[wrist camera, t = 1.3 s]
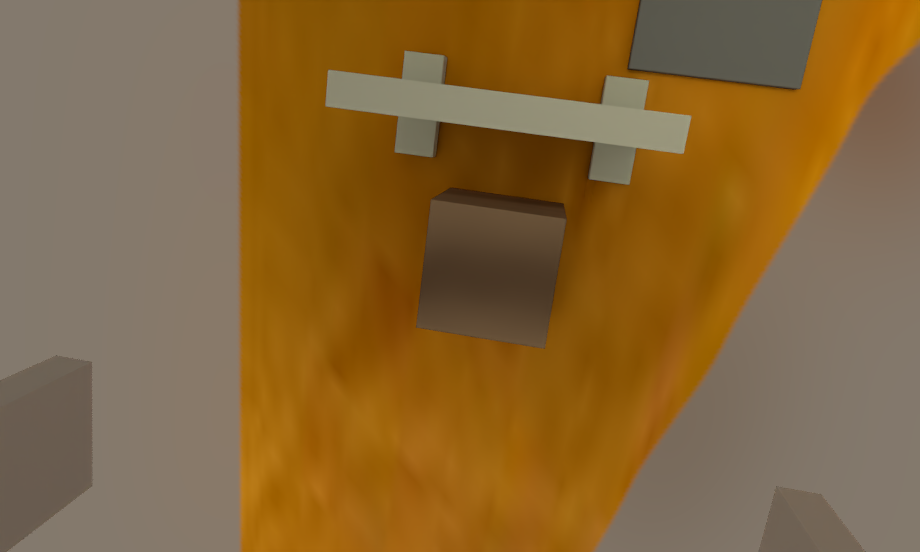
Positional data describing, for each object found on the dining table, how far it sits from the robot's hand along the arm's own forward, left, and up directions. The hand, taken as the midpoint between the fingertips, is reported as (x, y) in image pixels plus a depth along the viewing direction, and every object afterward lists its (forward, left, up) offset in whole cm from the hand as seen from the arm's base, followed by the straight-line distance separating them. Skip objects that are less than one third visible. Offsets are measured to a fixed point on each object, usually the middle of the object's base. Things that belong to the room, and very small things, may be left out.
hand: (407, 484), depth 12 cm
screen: (-7, 0, -23) cm, 24 cm away
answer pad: (-14, +9, -23) cm, 28 cm away
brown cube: (0, 0, -23) cm, 23 cm away
